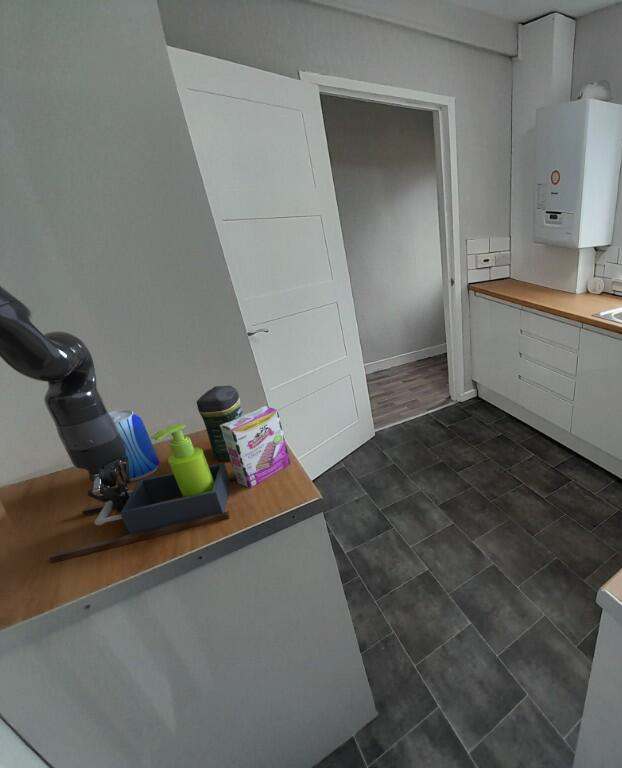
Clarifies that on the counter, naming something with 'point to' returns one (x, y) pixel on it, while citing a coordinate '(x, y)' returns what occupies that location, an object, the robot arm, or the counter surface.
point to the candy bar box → (256, 446)
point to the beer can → (136, 444)
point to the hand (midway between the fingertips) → (125, 509)
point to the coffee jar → (219, 416)
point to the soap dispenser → (187, 463)
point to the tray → (168, 502)
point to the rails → (136, 536)
